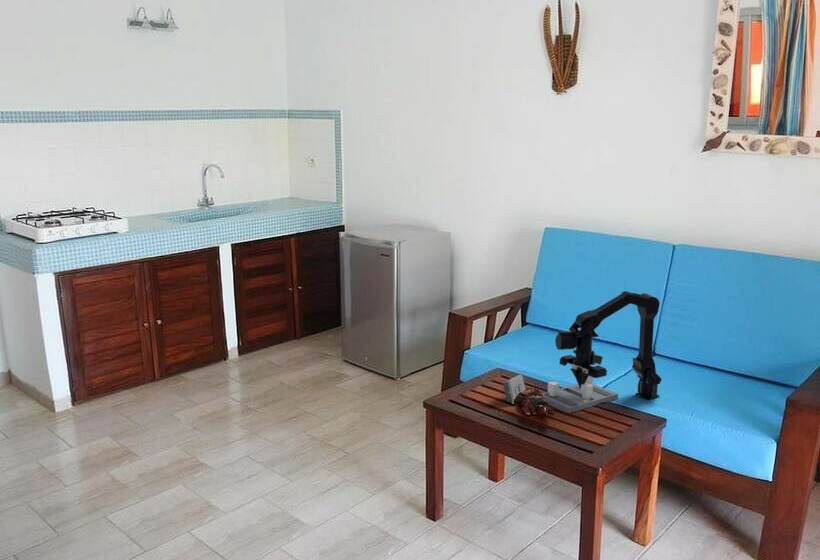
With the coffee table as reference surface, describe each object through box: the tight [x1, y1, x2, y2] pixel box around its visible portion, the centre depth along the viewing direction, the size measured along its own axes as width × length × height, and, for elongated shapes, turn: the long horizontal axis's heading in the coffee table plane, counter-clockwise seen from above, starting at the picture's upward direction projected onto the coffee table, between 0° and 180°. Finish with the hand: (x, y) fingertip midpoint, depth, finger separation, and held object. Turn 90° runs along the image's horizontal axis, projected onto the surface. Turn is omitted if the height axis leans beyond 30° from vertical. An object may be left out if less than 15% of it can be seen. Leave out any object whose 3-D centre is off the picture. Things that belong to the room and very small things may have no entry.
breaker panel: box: [541, 376, 619, 414], centre depth 269 cm, size 16×26×7 cm, turn 123°
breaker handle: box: [581, 383, 593, 401], centre depth 265 cm, size 3×3×6 cm
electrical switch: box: [502, 374, 526, 405], centre depth 267 cm, size 9×5×9 cm, turn 141°
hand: (581, 387), depth 267 cm, fingers closed
